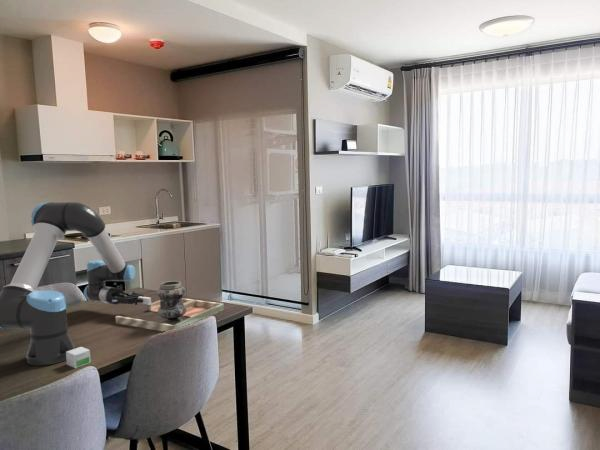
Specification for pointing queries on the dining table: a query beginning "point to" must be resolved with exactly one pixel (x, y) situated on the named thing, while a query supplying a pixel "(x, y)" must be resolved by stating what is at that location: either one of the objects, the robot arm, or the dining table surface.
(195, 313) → the trap box
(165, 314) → the apothecary jar
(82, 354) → the small box
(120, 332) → the dining table surface
